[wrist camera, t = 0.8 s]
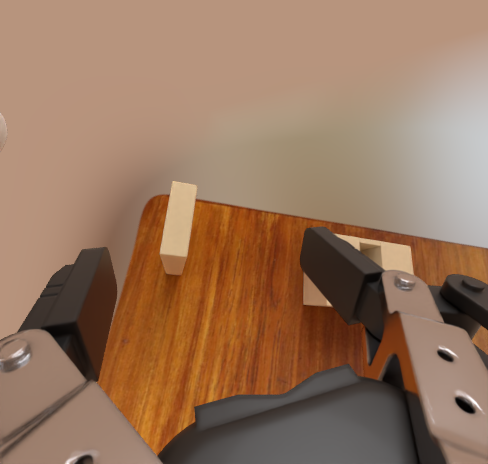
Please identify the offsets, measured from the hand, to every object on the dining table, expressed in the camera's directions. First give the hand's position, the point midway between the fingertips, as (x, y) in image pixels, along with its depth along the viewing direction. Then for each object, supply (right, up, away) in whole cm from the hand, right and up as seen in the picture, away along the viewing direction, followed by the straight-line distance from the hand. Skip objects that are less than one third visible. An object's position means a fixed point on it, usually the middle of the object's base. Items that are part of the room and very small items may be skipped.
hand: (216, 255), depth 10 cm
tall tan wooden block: (-8, -2, +23) cm, 24 cm away
